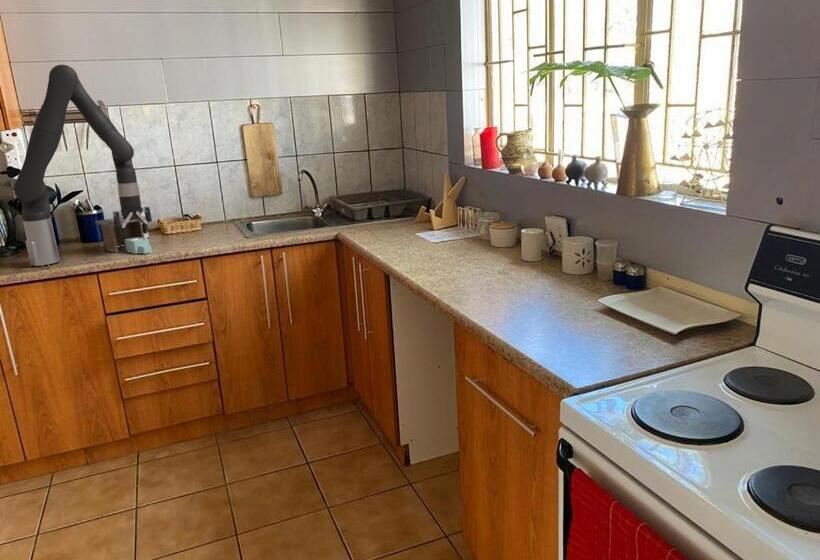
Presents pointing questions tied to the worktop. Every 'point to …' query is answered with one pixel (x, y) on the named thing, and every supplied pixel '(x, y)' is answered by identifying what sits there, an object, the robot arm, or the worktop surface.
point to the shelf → (114, 235)
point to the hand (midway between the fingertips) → (135, 235)
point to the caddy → (138, 245)
